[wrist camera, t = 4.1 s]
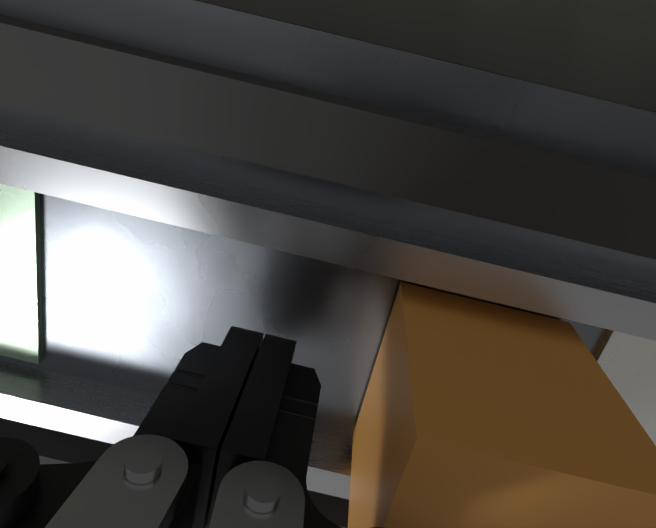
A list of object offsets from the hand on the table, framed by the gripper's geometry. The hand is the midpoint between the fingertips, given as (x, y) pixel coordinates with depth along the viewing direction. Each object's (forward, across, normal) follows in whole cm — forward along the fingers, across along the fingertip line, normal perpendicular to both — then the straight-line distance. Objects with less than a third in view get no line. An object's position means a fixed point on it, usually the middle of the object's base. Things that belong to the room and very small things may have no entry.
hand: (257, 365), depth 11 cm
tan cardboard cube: (+1, -5, 0) cm, 5 cm away
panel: (+4, -1, 0) cm, 4 cm away
